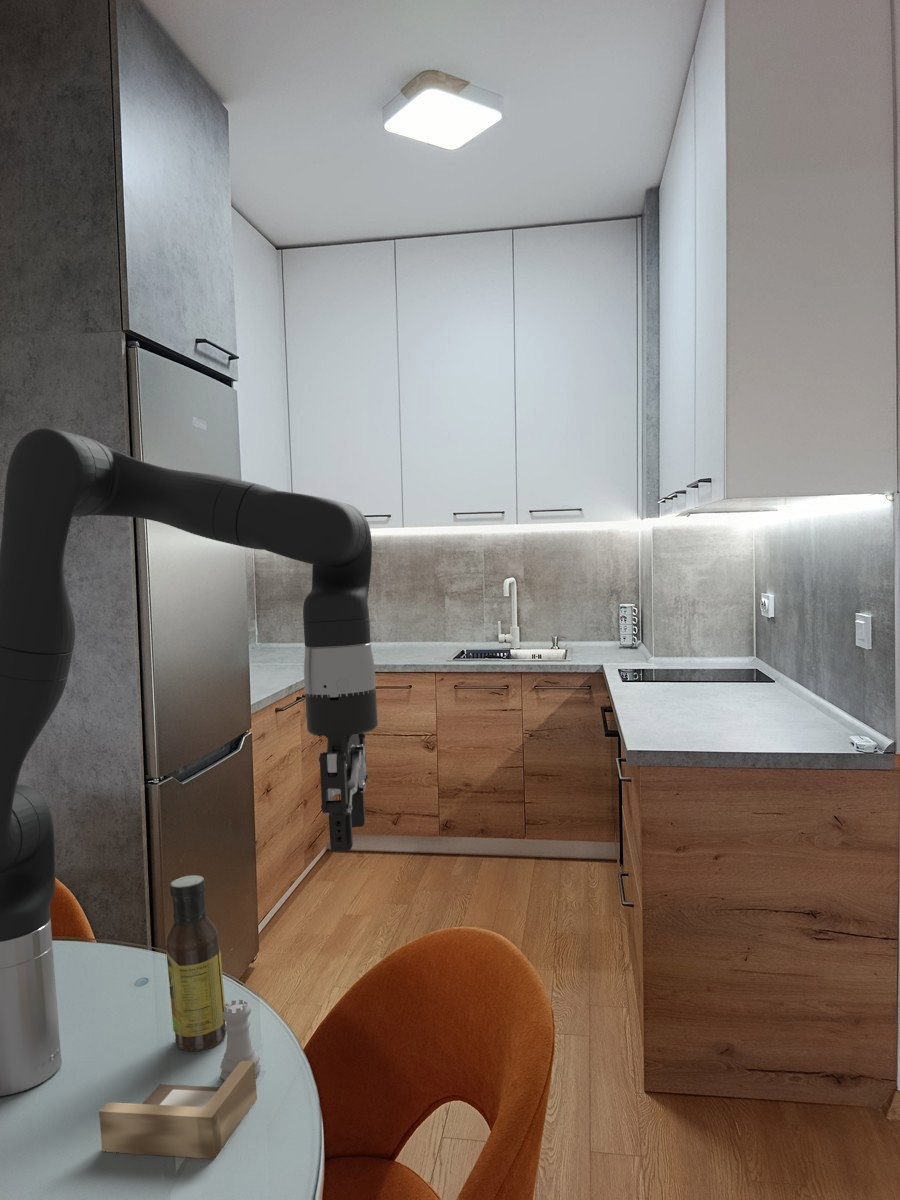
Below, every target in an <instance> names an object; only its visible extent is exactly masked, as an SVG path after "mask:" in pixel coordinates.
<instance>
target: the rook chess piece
mask: <svg viewBox="0 0 900 1200" xmlns="http://www.w3.org/2000/svg"><path fill="white" fill-rule="evenodd" d="M238 1001H239V1002H238V1003H237V999H236V998H235V999H232V1000H231V1003H230V1002H225V1007H224V1008H225V1010H224V1012H223V1013H222V1018H223V1019H224V1020H225V1025H226V1026H225V1031H226V1048H225V1052H224V1055H223V1058H222V1060H221V1062H220V1063H221V1064H220V1070H221V1071H220V1077H221V1079H222V1080H223V1082H225V1081H226V1079H227V1078H228V1077H229V1076H230V1074H231V1073H232V1072H233V1070H234V1069H235V1068H236V1067H237V1065H238V1064H239V1063H240V1062H241V1061H254V1064H255V1077H256V1075H257V1076H258V1074H259V1073H260V1071H261V1067H262V1066H261V1063H260V1056H259V1053H258V1052H257V1051H256V1048H255V1047H254V1046H253V1044H252V1039H251V1036H250V1035H251V1034H250V1026H251V1022H250V1021H249V1016H250V1014H251V1013H252V1008H251V1007H250V1006H249V1005H248V1001H247V1000H245V999H244V998H242V999H241V998H239V1000H238Z"/></svg>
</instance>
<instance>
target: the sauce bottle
mask: <svg viewBox="0 0 900 1200" xmlns="http://www.w3.org/2000/svg"><path fill="white" fill-rule="evenodd" d="M205 889H206V884H205V879H204V877H203V876H201V875H194V874H193V875H185V876H182V877H180V878H177V879H174V880H172V881H171V882H170V884H169V894H170V896H171V898H172V904H173V915H172V916H173V921H174V922H173V924H172V926H171V929H170V930H169V933H168V934H167V938H166V945H165V950H166V960H167V962H166V963H167V972H168V973H167V975H168V982H169V997H170V1007H171V1019H172V1029H173V1030H172V1031H173V1032H174V1035H175V1036H174V1037H175V1039H174V1040H175V1045H176V1046H177V1047H178V1048H179V1049H181V1050H183V1051H187V1052H199V1051H204V1050H208V1049H212V1048H214V1047H215V1046H217V1045H219V1044H220V1043H221V1042H222V1040H223V1039H225V1037H226V1036H227V1032H226V1031H225V1026H226V1021H225V1020H224V1019H223V1018H222V1013H223V1012H224V1010H225V1008H224V1007H225V1004H226V1001H225V991H224V990H225V989H224V980H223V978H224V977H223V966H222V957H221V956H222V955H221V949H220V945H219V943H220V942H219V933H218V929H217V927H216V925H215V924H214V923H213V922H212V920H211V919H210V918H209V917H208V915H207V908H206V899H205Z"/></svg>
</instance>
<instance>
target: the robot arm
mask: <svg viewBox="0 0 900 1200" xmlns="http://www.w3.org/2000/svg"><path fill="white" fill-rule="evenodd" d="M6 472H7V473H6V479H5V489H4V503H3V515H2V526H1V527H2V530H1V539H0V540H1V542H0V1097H2V1096H7V1095H8V1096H9V1095H12V1094H17V1093H19V1092H20V1093H22V1092H23V1091H26V1090H29V1089H32V1088H33V1087H35V1086H38V1085H40V1084H42V1083H43V1082H45V1081H46V1080H48V1079H49V1078H51V1077H52V1076H53V1075H55V1073H56V1072H58V1070H59V1069H60V1067H61V1065H62V1051H61V1038H60V1036H61V1035H60V1025H59V1012H58V1011H59V1009H58V1000H57V999H58V998H57V996H58V995H57V988H56V987H57V985H56V972H55V961H54V949H53V948H54V947H53V937H52V936H53V935H52V933H53V932H52V922H51V903H52V900H53V899H54V898H53V897H54V895H55V891H56V853H55V852H56V851H55V850H56V847H55V829H54V821H53V816H52V812H51V810H50V807H49V804H48V802H47V801H46V799H45V798H44V796H43V795H42V794H41V793H40V791H37V789H35V788H34V787H31V786H29V785H25V784H18V781H19V776H20V773H21V770H22V767H23V765H24V763H25V760H26V757H27V755H28V753H29V752H30V750H31V748H32V747H33V745H34V743H35V741H36V739H38V737H39V735H40V734H41V732H42V730H43V729H44V727H45V726H46V724H47V723H48V721H49V720H50V718H51V716H52V714H53V713H54V711H55V710H56V708H57V706H58V704H59V702H60V700H61V698H62V696H63V694H64V692H65V689H66V685H67V682H68V678H69V677H68V676H69V672H70V667H71V662H72V657H73V652H74V649H75V640H76V624H75V617H74V613H73V608H72V604H71V600H70V597H69V593H68V589H67V584H66V579H65V572H64V559H65V558H64V557H65V549H66V545H67V544H66V543H67V540H68V534H69V531H70V530H69V529H70V526H71V521H72V518H73V517H74V518H75V517H77V518H80V517H87V516H108V517H126V518H127V517H130V518H137V519H143V520H148V521H153V522H158V523H161V524H164V525H167V526H170V527H173V528H176V529H178V530H181V531H184V532H186V533H190V534H191V535H196V536H199V537H202V538H205V539H209V540H212V541H217V542H220V543H221V542H222V543H225V544H229V545H234V546H238V547H243V548H248V549H254V550H261V551H262V550H264V551H266V552H269V553H273V554H275V555H279V556H281V557H285V558H287V559H291V560H295V561H298V562H302V563H305V564H309V565H312V568H311V569H312V570H311V571H312V572H311V573H312V575H311V576H312V578H311V590H310V592H309V593H308V594H307V595H306V597H305V599H304V602H303V606H302V609H303V610H302V620H303V635H304V636H303V637H304V661H303V677H304V678H303V680H304V698H305V714H306V716H305V717H306V730H307V731H308V733H309V734H310V735H313V736H318V737H321V736H322V737H323V736H324V737H325V738H327V743H326V745H327V748H326V751H323V752H321V753H320V754H319V757H318V761H319V769H320V770H319V772H320V773H319V775H320V776H319V777H320V794H321V797H320V798H321V805H320V806H321V807H320V809H321V812H322V814H326V815H328V826H329V827H328V830H329V841H330V843H329V844H330V846H329V847H330V849H331V851H333V852H347V851H348V852H349V851H350V850H351V849H352V848H353V846H354V842H353V841H354V840H353V837H354V836H353V828H360V827H363V826H364V825H365V823H366V810H365V809H366V808H365V792H366V788H367V782H368V779H369V774H368V770H367V768H368V767H367V755H366V754H367V753H366V740H365V739H366V734H365V733H369V732H371V731H373V730H375V729H376V728H377V727H378V722H379V721H378V706H377V689H376V687H377V686H376V669H375V662H374V661H375V660H374V655H373V651H372V644H371V642H372V641H371V640H372V639H371V629H370V628H371V627H370V625H371V623H370V612H369V605H368V604H369V603H368V602H369V601H368V600H369V599H368V598H369V592H370V591H369V590H370V582H371V571H372V560H373V559H372V558H373V542H372V541H373V540H372V534H371V528H370V525H369V523H368V520H367V518H366V516H365V515H364V513H362V512H361V510H359V509H358V508H357V507H355V506H353V505H351V504H348V503H345V502H341V501H339V500H335V499H332V498H331V499H330V498H326V497H323V496H314V495H312V494H311V495H309V494H304V493H298V492H291V491H290V492H289V491H282V490H277V489H276V488H273V487H271V486H267V485H263V484H259V483H255V482H251V481H246V480H241V479H236V478H234V477H233V478H232V477H228V476H221V475H216V474H210V473H203V472H195V471H194V472H193V471H186V470H178V469H172V468H167V467H162V466H160V465H156V464H151V463H150V462H147V461H146V462H145V461H142V460H140V459H137V458H136V457H132V456H130V455H127V454H125V453H122V452H120V451H119V450H116V449H113V448H111V447H108V446H107V445H104V444H103V443H100V442H99V441H97V440H96V439H93V438H90V437H87V436H85V435H81V434H76V433H72V432H68V431H64V430H60V429H57V428H56V429H55V428H50V427H48V428H47V427H41V428H40V427H39V428H36V429H33V430H31V431H30V432H28V433H27V434H25V435H24V436H22V438H20V440H19V441H18V442H17V444H16V445H15V446H14V449H13V451H12V453H11V456H10V458H9V462H8V466H7V471H6ZM335 795H340V799H335V800H334V796H335Z"/></svg>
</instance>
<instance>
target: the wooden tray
mask: <svg viewBox="0 0 900 1200" xmlns="http://www.w3.org/2000/svg"><path fill="white" fill-rule="evenodd" d="M257 1091H258V1090H257V1080H256V1077H255V1064H254V1061H241V1062H240V1063H239V1064H238V1065H237V1067H236V1068H235V1069H234V1070H233V1072H232V1073H231V1074H230V1076H229V1077H228V1078H227V1079H226V1081H223V1083H222V1084H221V1085H220V1086H208V1085H207V1086H205V1085H204V1086H202V1085H187V1084H186V1085H183V1084H182V1085H181V1084H160V1083H159V1085H157V1086H156V1087H155V1088H154V1090H153V1091H152V1092H151V1093H150V1094H149V1095H148V1096H147V1097H146V1098H145V1099H144V1101H143V1102H142V1103H131V1102H130V1103H129V1102H128V1103H127V1102H126V1103H125V1102H110V1101H108V1102H107V1103H105V1105H104V1106H102V1108H101V1109H100V1110H99V1111H98V1114H99V1126H100V1127H99V1129H100V1139H101V1140H100V1141H101V1143H100V1144H101V1152H102V1151H103V1153H104V1152H105V1151H106V1153H116V1152H117V1154H118V1152H119V1154H134V1155H135V1154H136V1155H148V1156H149V1155H150V1156H163V1157H165V1156H166V1157H178V1158H179V1157H180V1158H194V1159H195V1158H196V1159H209V1160H214V1159H216V1158H217V1156H218V1154H219V1153H220V1152H221V1151H222V1149H223V1148H224V1146H225V1145H226V1143H227V1142H228V1140H230V1138H231V1136H232V1135H233V1133H234V1131H236V1129H237V1128H238V1126H239V1125H240V1123H241V1122H242V1121H243V1120H244V1118H245V1116H246V1115H247V1113H248V1112H249V1110H250V1109H251V1107H252V1106H253V1105H254V1103H255V1102H256V1100H258V1095H257V1094H258V1093H257Z"/></svg>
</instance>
